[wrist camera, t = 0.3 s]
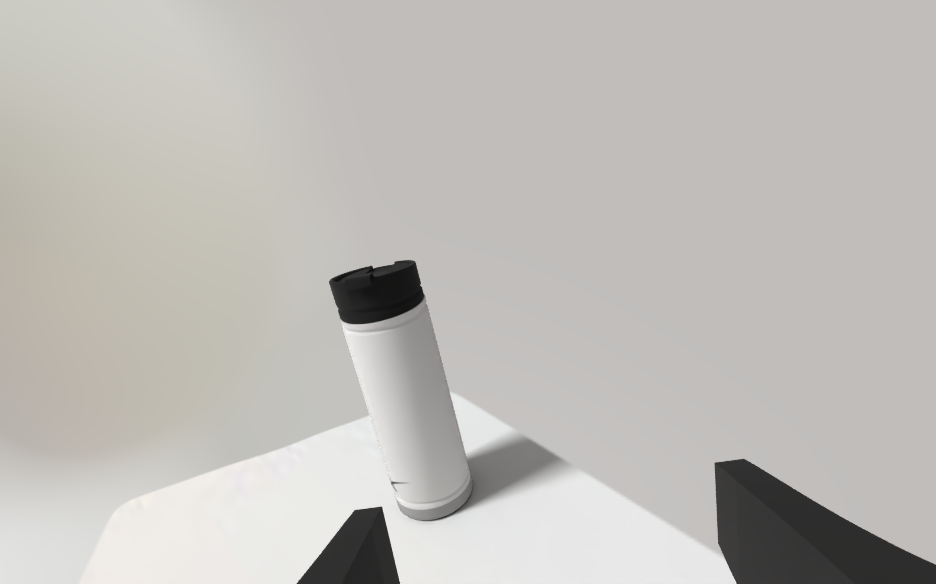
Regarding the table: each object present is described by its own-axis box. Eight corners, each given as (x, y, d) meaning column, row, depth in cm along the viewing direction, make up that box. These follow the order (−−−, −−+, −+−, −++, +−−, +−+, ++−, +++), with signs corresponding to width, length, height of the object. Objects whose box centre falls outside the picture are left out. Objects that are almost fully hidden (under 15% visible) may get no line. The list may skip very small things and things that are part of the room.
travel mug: (389, 529, 43) (310, 287, 36) (407, 473, 49) (342, 257, 43) (468, 521, 42) (402, 270, 35) (476, 465, 48) (421, 243, 42)
